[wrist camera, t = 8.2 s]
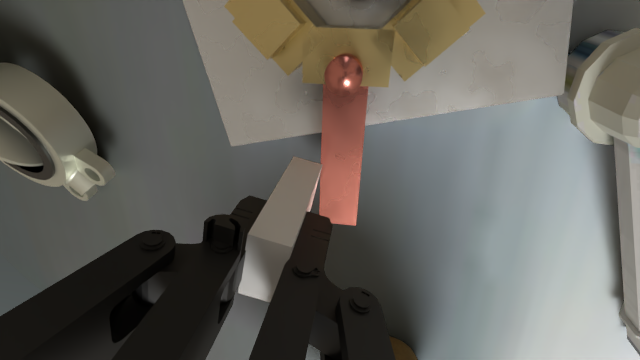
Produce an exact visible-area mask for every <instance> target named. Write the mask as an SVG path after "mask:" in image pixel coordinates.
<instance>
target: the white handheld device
mask: <svg viewBox="0 0 640 360" xmlns="http://www.w3.org/2000/svg"><path fill="white" fill-rule="evenodd" d="M557 97H558V102H559V106H560V107H561V108H563V109H564V110H565V111H566V112H567V113H568V114H569V115H570V120H571V123H572V124H573V125H574V126H575V127H576V128H577V129H578V130H579V131H580V132H582V133H583V134H584V135H585V136H586V137H587V138H588V139H589V140H591V141H592V142H594V143H598V144H606V145H614V149H615V165H616V181H617V196H618V212H619V228H620V244H621V260H622V275H623V291H624V302H623V305H622V307H621V309H620V312H619V317H620V318H621V319H622V320H623V322H624V323H625V324H626V329H627V339H628V340H629V342H630V343H631V345H632V346H633V347H634V349H635V350H636V351H637V353H638V354H639V355H640V28H633V29H631V30H629V31H626V32H619V31H611V30H606V31H604V32H602V33H599V34H597V35H595V36H593V37H590V38H588V39H586V40H584V41H582V42H581V43H580V44H579V45H578V46H577V48H576V49H575V50H574V51H573V52H572V53H571V54H570V55H569V56H568V58H567V67H566V77H565V86H564V95H558V96H557Z"/></svg>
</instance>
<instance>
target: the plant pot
mask: <svg viewBox="0 0 640 360" xmlns="http://www.w3.org/2000/svg"><path fill="white" fill-rule="evenodd" d="M389 338H390V341H391V345H392V348H393V352H394V355H395V359H396V360H418V359H417V357H416V355H415V354H414V352H413V351H412V349H411V348H410V347H409V346H408V345H407V344H405V343H404V342H402V341H401V340H399V339H396V338H394V337H391V336H389Z"/></svg>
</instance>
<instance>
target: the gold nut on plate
mask: <svg viewBox="0 0 640 360" xmlns="http://www.w3.org/2000/svg"><path fill="white" fill-rule="evenodd" d="M228 1H229V0H183V3H184V6H185V9H186V12H187V15H188V18H189V21H190V24H191V27H192V30H193V33H194V36H195V39H196V42H197V45H198V48H199V51H200V54H201V57H202V60H203V63H204V66H205V69H206V72H207V75H208V78H209V81H210V84H211V87H212V90H213V93H214V96H215V99H216V102H217V105H218V108H219V111H220V114H221V117H222V120H223V123H224V126H225V129H226V132H227V135H228V138H229V141H230V144H231V146H237V145H243V144H250V143H256V142H263V141H269V140H276V139H282V138H288V137H295V136H301V135H308V134H314V133H320V132H322V107H323V84H313V83H302V66H301V67H300V68H298V69H297V70H296V71H294V72H293V73H291V74H290V75H289V76H288V75H287V74H286V73H285V72H284V71H283V70H282V69H281V68H280V67H279V65H278V64H277V63H276V62H275V61H274V60H273V59H272V58H270V59H268V60H267V59H266V58H265V57H264V56H263V55H262V54H261V53H260V51H259V50H258V49H257V48H256V47H255V46H254V45H253V44H252V43H251V42H250V41H249V40H248V39H247V37H246V36H245V35H244V34H243V33H242V32H241V31H240V30H239V29H238V28H237V27H236V26H235V24H234V23H233V22H232V21H233V20H234V19H235V18H234V17H233V15H232V14H231V13H230V12H229V11H228V10H227V9H226V8H225V7H224V6H225V5H226V3H227V2H228ZM306 1H307V2H308V3H309V4H310V6H311V7H312V8H313V9H314V10H315V11H316V13H317V14H318V15H319V16H320V17H321V19H322V20H323V21H324V22H325V23H326V25H343V26H373V27H379V26H380V25H381V24H382V23H383V22H384V21H385V20H386V19H388V18H389V17H390V16H391V15H392V14H393V13H394V12H395V11H396V10H397V9H398V8H399V7H400V6H401V5H402V4H403V3H404V2H405V1H406V0H306ZM477 1H478V3H479V4H480V6H481V7H482V9H483V10H484V12H485V13H486V14H485V15H483V16H482V17H481V18H480V19H479V20H477V21H476V22H475V23H474V24H473V25H471V26H470V27H469V29H470V30H469V31H467V32H466V33H465V34H464V35H463V36H461V37H460V38H459V39H458V40H457V41H455V42H454V43H453V44H452V45H451V46H449V47H448V48H447V49H446V50H445V51H444V52H442V53H441V54H440V55H439V56H438V57H436V58H435V59H434V60H433V61H432V62H430V63H429V64H428V65H427V66H426V67H425V66H423V67H422V68H420V69H419V70H418V71H417V72H416V73H414V74H413V75H412V76H411V77H410V78H408V79H407V80H406V81H405V82H404V81H403V79H402V78H401V77H400V76H399V74H398V73H397V72H396V71H395V69H394V68H393V67H392V66H391V70H390V78H389V87H370V86H368V97H367V108H366V120H365V125H372V124H378V123H385V122H391V121H398V120H404V119H410V118H417V117H423V116H430V115H436V114H443V113H449V112H455V111H462V110H468V109H475V108H481V107H488V106H494V105H500V104H507V103H513V102H520V101H526V100H532V99H539V98H545V97H552V96H558V95H564V86H565V77H566V67H567V58H568V48H569V39H570V29H571V20H572V10H573V0H477Z"/></svg>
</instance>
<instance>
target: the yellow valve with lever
mask: <svg viewBox="0 0 640 360" xmlns="http://www.w3.org/2000/svg"><path fill="white" fill-rule="evenodd" d="M224 7H225V8H226V9H227V10H228V11H229V12H230V13H231V14H232V15H233V17H234V18H235V19H234V20H233V21H232V22H233V23H234V24H235V26H236V27H237V28H238V29H239V30H240V31H241V32H242V33H243V34H244V35H245V36H246V37H247V39H248V40H249V41H250V42H251V43H252V44H253V45H254V46H255V47H256V48H257V49H258V50H259V51H260V53H261V54H262V55H263V56H264V57H265V58H266V59H267V60H268V59H270V58H272V59H273V60H274V61H275V62H276V63H277V64H278V65H279V67H280V68H281V69H282V70H283V71H284V72H285V73H286V74H287V75H288V76H289V75H290V74H291V73H293V72H294V71H296V70H297V69H298V68H300V67H301V66H302V83H313V84H323V107H322V141H321V164H322V169H321V175H320V209H319V215H321V216H325V217H328V218H330V221H331V223H334V224H344V225H354V226H356V220H357V208H358V197H359V186H360V175H361V164H362V153H363V142H364V131H365V120H366V108H367V97H368V86H370V87H389V78H390V70H391V66H392V67H393V68H394V69H395V71H396V72H397V73H398V74H399V76H400V77H401V78H402V79H403V81H404V82H405V81H406V80H407V79H408V78H410V77H411V76H412V75H413V74H414V73H416V72H417V71H418V70H419V69H420V68H422V67H423V66H425V67H426V66H427V65H428V64H429V63H430V62H432V61H433V60H434V59H435V58H436V57H438V56H439V55H440V54H441V53H442V52H444V51H445V50H446V49H447V48H448V47H449V46H451V45H452V44H453V43H454V42H455V41H457V40H458V39H459V38H460V37H461V36H463V35H464V34H465V33H466V32H467V31H469V30H470V29H469V27H470V26H471V25H473V24H474V23H475V22H476V21H477V20H479V19H480V18H481V17H482V16H483V15H485V14H486V13H485V12H484V10H483V9H482V7H481V6H480V4H479V3H478V1H477V0H406V1H405V2H404V3H403V4H402V5H401V6H400V7H399V8H398V9H397V10H396V11H395V12H394V13H393V14H392V15H391V16H390V17H389V18H388V19H386V20H385V21H384V22H383V23H382V24H381V25H380V26H379V27H373V26H343V25H326V23H325V22H324V21H323V20H322V19H321V17H320V16H319V15H318V14H317V13H316V11H315V10H314V9H313V8H312V7H311V6H310V4H309V3H308V2H307V1H306V0H229V1H228V2H227V3H226V5H225V6H224Z"/></svg>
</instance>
